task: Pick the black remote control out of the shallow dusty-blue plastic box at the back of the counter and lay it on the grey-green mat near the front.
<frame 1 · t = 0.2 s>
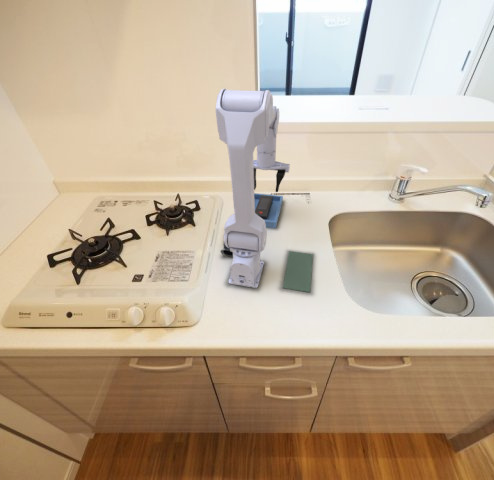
hand: (265, 189, 87), 10 cm above the worktop, tool pointing down, fingers open, 7 cm apart
mat: (298, 270, 72), on the worktop
remote: (263, 211, 93), resting on box
box: (263, 212, 94), on the worktop
electronic device: (239, 241, 82), on the worktop
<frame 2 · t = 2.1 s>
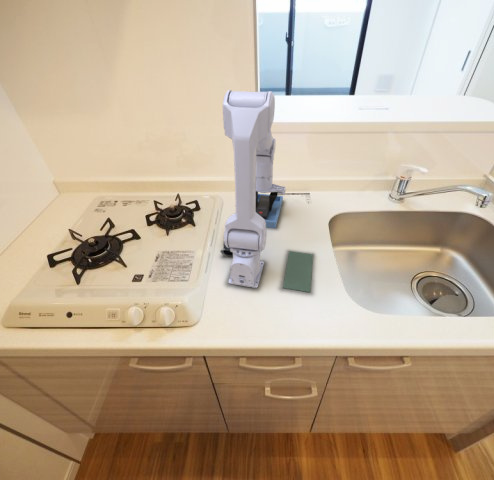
hand: (263, 209, 93), 1 cm above the worktop, tool pointing down, fingers closed on remote, 4 cm apart
remote: (263, 211, 93), resting on box, touching gripper
everything else where it was.
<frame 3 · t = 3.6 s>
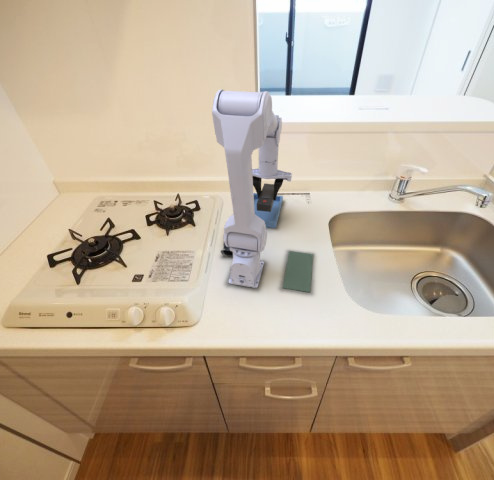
hand: (267, 198, 85), 8 cm above the worktop, tool pointing down, fingers closed on remote, 4 cm apart
remote: (267, 200, 86), point 7 cm above the worktop, touching gripper
everything else where it was.
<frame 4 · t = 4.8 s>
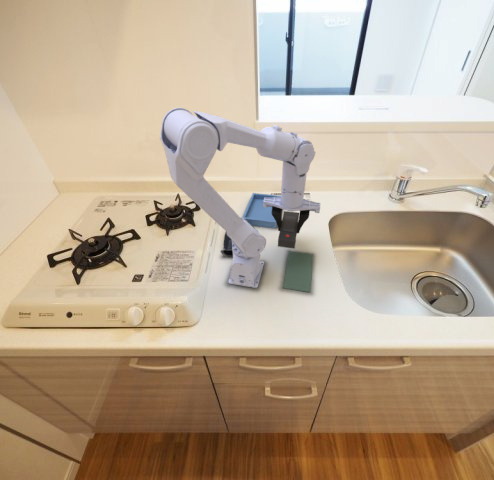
hand: (289, 230, 73), 8 cm above the worktop, tool pointing down, fingers closed on remote, 4 cm apart
remote: (288, 232, 73), point 7 cm above the worktop, touching gripper
everything else where it was.
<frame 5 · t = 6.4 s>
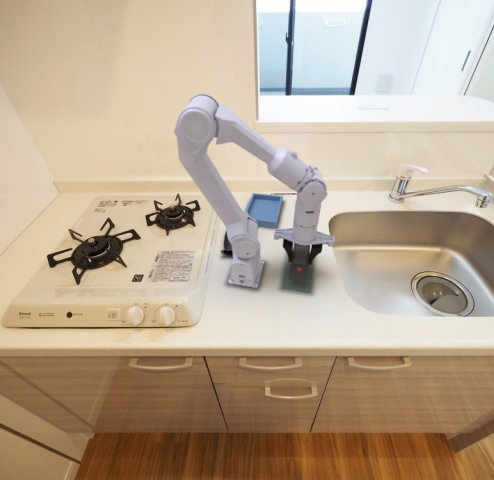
hand: (300, 260, 70), 4 cm above the worktop, tool pointing down, fingers closed on remote, 4 cm apart
remote: (299, 263, 70), point 3 cm above the worktop, touching gripper
everything else where it was.
when the fingers open (1 cm above the worktop, at t = 7.7 s): remote stays where it is, resting on mat.
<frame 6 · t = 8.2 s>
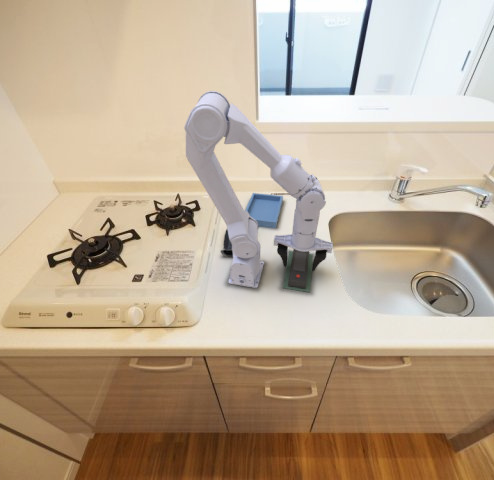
hand: (299, 266, 71), 2 cm above the worktop, tool pointing down, fingers open, 7 cm apart
remote: (298, 269, 72), resting on mat
everything else where it was.
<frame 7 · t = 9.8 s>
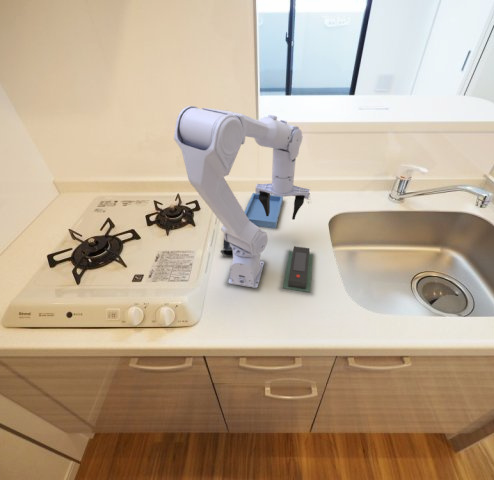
hand: (280, 215, 76), 9 cm above the worktop, tool pointing down, fingers open, 7 cm apart
nothing on the worktop moved.
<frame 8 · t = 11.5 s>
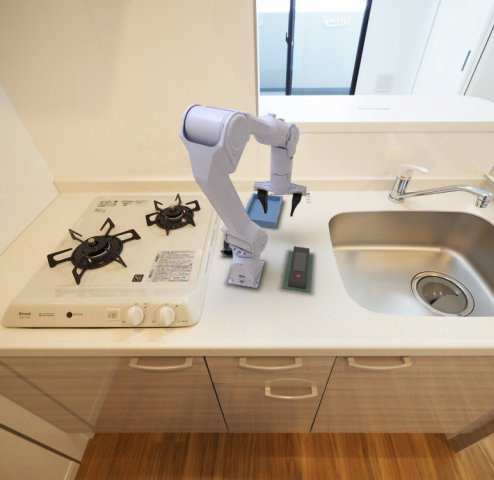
hand: (278, 213, 77), 9 cm above the worktop, tool pointing down, fingers open, 7 cm apart
nothing on the worktop moved.
at the end: remote inside the target area on the mat (0.0 cm from its centre), point 0.4 cm above the mat's base; the gripper is holding nothing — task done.
